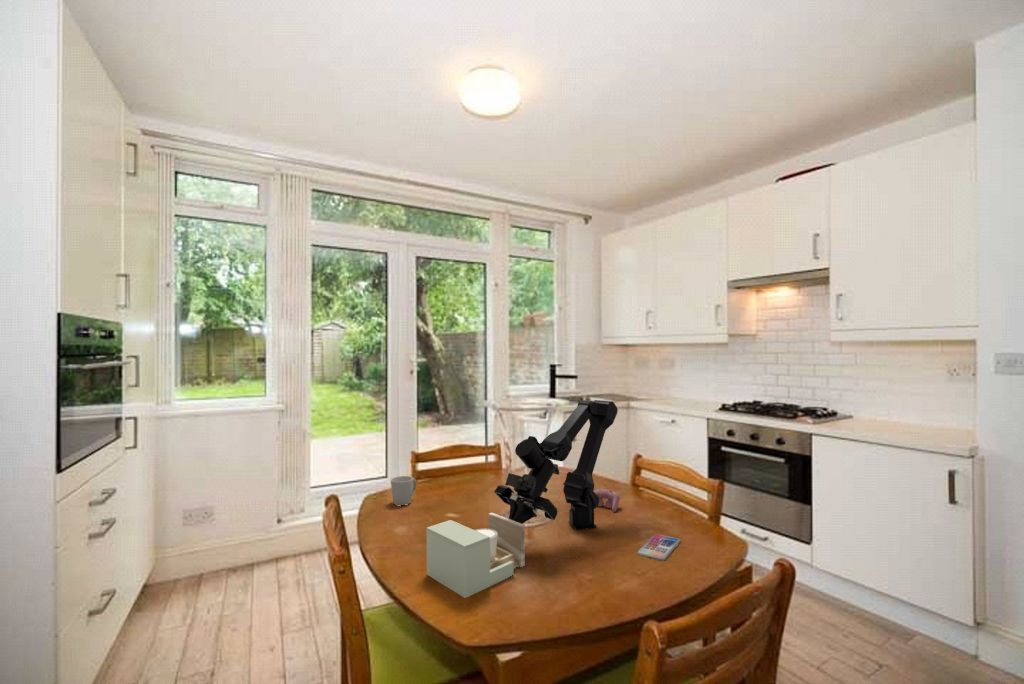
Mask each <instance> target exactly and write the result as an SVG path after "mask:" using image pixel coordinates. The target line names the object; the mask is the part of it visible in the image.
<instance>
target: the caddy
mask: <svg viewBox="0 0 1024 684" xmlns="http://www.w3.org/2000/svg"><path fill="white" fill-rule="evenodd" d="M475 530H476V529H473V528H471V527H468V526H465V525H463V524H461V523H459V522H456V521H454V520H452V519H448V520H446V521H443V522H439V523H437V524H433V525H431V526H427V527H426V575H427V576H428V577H430V578H432V579H433V580H435V581H437V582H438V583H439V584H441V585H443V586H444V587H446V588H448V589H450V590H451V591H453V592H454V593H456V594H458V595H459V596H461V597H462V598H464V599H467V598H469V597H471V596H472V595H476V594H477V593H480V592H481V591H484V590H485V589H488V588H489V587H492V586H494V585H496V584H498V583H500V582H502V581H505V580H507V579H508V578H510V576H511V577H513V576H514V575H515V574H514V569H513V562H512V561H509V562H507V563H504V564H502V565H500V566H498V567H496V568H493V569H491V570H490V537H489V536H487V535H484V534H482V533H480V532H477V531H475ZM512 575H513V576H512Z"/></svg>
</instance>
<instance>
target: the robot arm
mask: <svg viewBox="0 0 1024 684" xmlns="http://www.w3.org/2000/svg"><path fill="white" fill-rule="evenodd" d="M618 409H619V408H618V406H617V405H616V404H615V402H614V401H610V400H600V399H599V400H598V399H597V400H596V399H595V400H583V399H582V400H580V401H578V402H577V406H576V407H575V409H573V411H572V413H571V414H570V415H569V416H568V418H567V419H566V420H565V421H564V422H563V424H562V425H561V426H560V427H559V429H557V430H556V431H553V432H551V433H550V434H548V435H547V436H546V437H545V438H544V439H543V440H542V441H541V442H539V440H538V439H537V437H536V436H532V435H528V437H527V438H526V439H523V440H521V442H519V443H518V444H517V445H516V446H515V449H514V451H515V455H516V456H517V457H518V458H519V459H520V461H521V462H522V463H523V464H524V465H525V467H526V468H528V469H530V470H529V472H528V474H527V473H524V474H522V476H521V475H518V474H514V473H511V472H508V475H507V477H506V480H505V484H504V485H503V484H499V485H497V487H496V488H495V489H494V495H496V496H497V497H498V498H499V499H500V500H501V501H502V502H503V503H504V504H505V505H508V506H509V507H510V508H509V514H508V515H509V516H508V519H510V520H513V521H516V522H518V523H521V524H524V523H526V522H527V521H529V520H531V519H533V518H536V517H537V516H538V515H537V513H538V510H540V511H543V513H544V517H545V518H546V519H549V520H552V521H555V519H556V518H557V515H558V508H557V507H556V506H555V505H554V503H553V502H552V501H551V500H550V499H549V498H546V497H542V495H543V493H545V494H546V493H547V492H548V488H547V485H548V484H549V482H550V480H551V478H552V476H553V474H554V475H560V470H559V465H558V463H554V462H553V461H555V462H556V461H557V462H564V461H565V460H567V458H568V457H569V455H570V453H571V451H572V449H573V441H574V439H575V438H576V436H577V435H578V434H579V433H580V431H581V430H582V428H584V426H585V424H586V423H587V422H588V421H589V427H588V430H587V434H586V437H585V439H584V440H585V441H584V443H583V446H582V448H581V453H580V456H579V459H578V461H577V465H576V468H575V469H574V470H573V471H568V472H567V473H566V477H565V481H564V482H563V484H562V485H563V490H562V491H563V495H564V498H565V502H566V503H567V504H569V505H570V508H569V509H568V511H569V512H568V515H569V517H568V519H569V520H568V523H569V524H570V525H571V526H572V527H573V529H575V530H578V531H580V530H581V531H582V530H587V529H595V528H597V527H598V526H597V525H596V524H595V509H597V507H599V506H598V504H599V498H598V496H597V495H596V494H595V493H594V490H595V482H594V477H593V474H594V473H593V472H594V469H595V467H596V463H597V460H598V456H599V454H600V453H599V452H600V449H601V446H602V443H603V441H604V437H605V434H606V431H607V430H608V429H609V427H611V426H613V424H614V422H615V419H616V417H617V414H618ZM552 460H553V461H552ZM511 487H512V488H513V489H512V488H511ZM515 492H516V493H515Z"/></svg>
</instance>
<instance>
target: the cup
mask: <svg viewBox="0 0 1024 684" xmlns="http://www.w3.org/2000/svg"><path fill="white" fill-rule="evenodd" d="M390 485H391V487H390V488H391V495H392V502H393V505H394V504H395V505H405V504H409V503H410V502H412V497H413V496H414V494H415V492H416V490H417V480H416V479H415V478H414V477H413V476H410V475H402V476H401V475H399V476H395V477H392V478H391V479H390ZM410 504H411V503H410ZM410 504H409V505H410ZM395 505H394V506H395Z"/></svg>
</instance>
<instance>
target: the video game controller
mask: <svg viewBox="0 0 1024 684" xmlns="http://www.w3.org/2000/svg"><path fill="white" fill-rule="evenodd" d="M593 491H594V493H595V494H596V495H597V496H598V498H599V504H598V506H597V507H600V508H601V507H603V506H604V504H605V507H606V508H608V509H611V510H612V512H613V513H615V512H616V511H617V510H618V508H619V502H620V499H621V498H620V495H618V494H617V493H616V492H614V491H613V490H611V489H606V488H605V489H604V488H600V489H595V488H594V490H593ZM604 499H605V500H606V502H604Z"/></svg>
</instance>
